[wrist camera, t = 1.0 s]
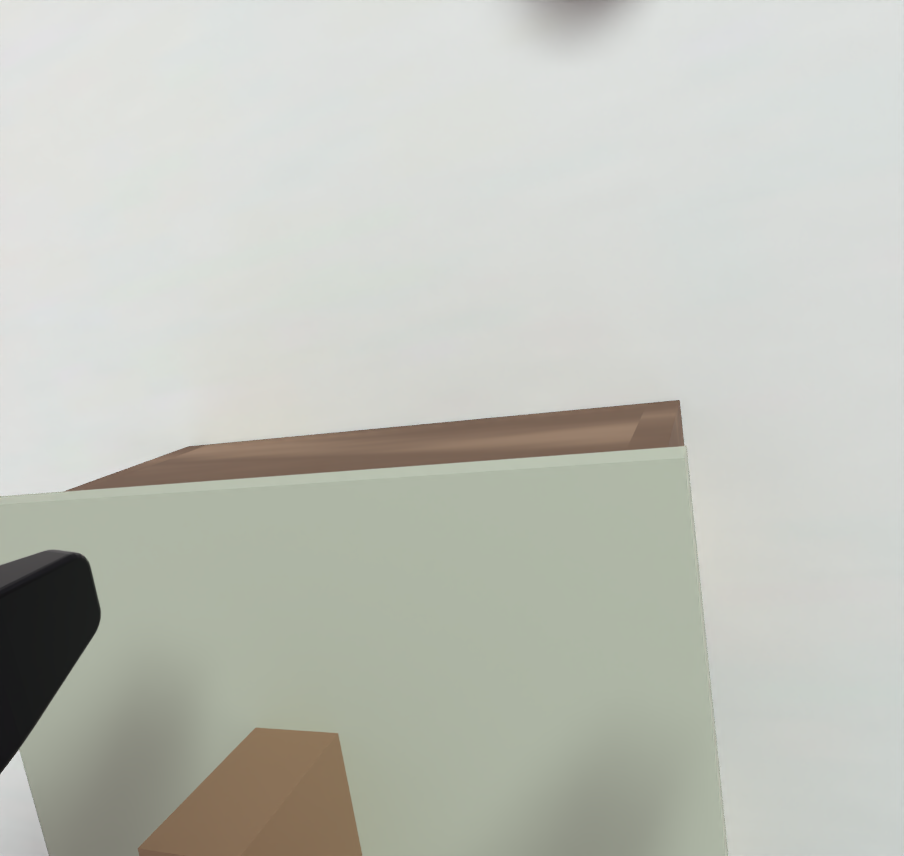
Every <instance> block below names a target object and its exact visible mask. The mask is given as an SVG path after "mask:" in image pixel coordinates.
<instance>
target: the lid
mask: <svg viewBox="0 0 904 856" xmlns="http://www.w3.org/2000/svg"><path fill="white" fill-rule="evenodd" d="M53 549H55V550H63V551H70V552H77V553H80V554H82V555H84V556H85V557H86V558H87V560H88V561H89V563H90V566H91V570H92V574H93V578H94V583H95V587H96V591H97V595H98V599H99V604H100V608H101V619H100V624H99V627H98V629H97V631H96V633H95V635H94V636H93V638H92V639H91V641H90V643H89V644H88V646H87V647H86V649H85V650H84V652H83V653H82V655H81V656H80V658H79V659H78V661H77V662H76V664H75V666H74V667H73V669H72V670H71V672H70V673H69V675H68V676H67V678H66V679H65V681H64V682H63V684H62V686H61V687H60V689H59V690H58V692H57V693H56V695H55V696H54V698H53V699H52V701H51V702H50V704H49V705H48V707H47V709H46V710H45V712H44V713H43V715H42V716H41V718H40V719H39V721H38V722H37V724H36V725H35V727H34V728H33V730H32V731H31V733H30V734H29V736H28V737H27V739H26V740H25V742H24V743H23V744H22V746H21V747H20V749H19V750H20V754H21V757H22V761H23V765H24V768H25V772H26V775H27V779H28V782H29V786H30V790H31V793H32V797H33V800H34V804H35V807H36V811H37V815H38V818H39V822H40V825H41V829H42V832H43V836H44V839H45V843H46V847H47V850H48V854H49V856H728V849H727V839H726V829H725V819H724V809H723V800H722V790H721V780H720V770H719V761H718V751H717V741H716V731H715V721H714V712H713V702H712V692H711V682H710V672H709V663H708V653H707V643H706V633H705V623H704V614H703V604H702V594H701V584H700V574H699V565H698V555H697V545H696V535H695V525H694V516H693V506H692V496H691V486H690V476H689V467H688V457H687V447H686V446H679V447H666V448H652V449H638V450H625V451H611V452H597V453H584V454H570V455H557V456H543V457H529V458H516V459H502V460H489V461H475V462H461V463H448V464H434V465H421V466H407V467H393V468H380V469H366V470H352V471H339V472H325V473H312V474H298V475H284V476H271V477H257V478H244V479H230V480H216V481H203V482H189V483H175V484H162V485H148V486H135V487H121V488H107V489H94V490H80V491H67V492H53V493H39V494H26V495H12V496H0V565H2V564H5V563H8V562H11V561H14V560H17V559H21V558H24V557H27V556H30V555H33V554H36V553H39V552H42V551H46V550H53Z"/></svg>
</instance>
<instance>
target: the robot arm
mask: <svg viewBox="0 0 904 856" xmlns="http://www.w3.org/2000/svg"><path fill="white" fill-rule="evenodd" d="M100 619H101V608H100V604H99V599H98V595H97V591H96V587H95V583H94V578H93V574H92V570H91V566H90V563H89V561H88V560H87V558H86V557H85V556H84V555H82V554H80V553H77V552H70V551H63V550H55V549H53V550H46V551H42V552H39V553H36V554H33V555H30V556H27V557H24V558H21V559H17V560H14V561H11V562H8V563H5V564H2V565H0V774H1V772H2V771H3V770H4V768H5V767H6V766H7V765H8V763H9V762H10V761H11V759H12V758H13V757H14V755H15V754H16V753H17V751H18V750H19V749H20V747H21V746H22V744H23V743H24V742H25V740H26V739H27V737H28V736H29V734H30V733H31V731H32V730H33V728H34V727H35V725H36V724H37V722H38V721H39V719H40V718H41V716H42V715H43V713H44V712H45V710H46V709H47V707H48V705H49V704H50V702H51V701H52V699H53V698H54V696H55V695H56V693H57V692H58V690H59V689H60V687H61V686H62V684H63V682H64V681H65V679H66V678H67V676H68V675H69V673H70V672H71V670H72V669H73V667H74V666H75V664H76V662H77V661H78V659H79V658H80V656H81V655H82V653H83V652H84V650H85V649H86V647H87V646H88V644H89V643H90V641H91V639H92V638H93V636H94V635H95V633H96V631H97V629H98V627H99V624H100Z"/></svg>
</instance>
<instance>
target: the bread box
mask: <svg viewBox="0 0 904 856" xmlns="http://www.w3.org/2000/svg"><path fill="white" fill-rule="evenodd" d="M679 446H684V439H683V430H682V420H681V410H680V400H676V401H666V402H655V403H645V404H634V405H623V406H613V407H602V408H592V409H581V410H571V411H560V412H549V413H539V414H528V415H518V416H507V417H496V418H486V419H475V420H465V421H454V422H443V423H433V424H422V425H412V426H401V427H390V428H380V429H369V430H359V431H348V432H338V433H327V434H316V435H306V436H295V437H285V438H274V439H263V440H253V441H242V442H232V443H221V444H210V445H200V446H189V447H186V448H183V449H180V450H177V451H175V452H172V453H169V454H166V455H164V456H161V457H158V458H155V459H152V460H150V461H147V462H144V463H141V464H139V465H136V466H133V467H130V468H128V469H125V470H122V471H119V472H116V473H114V474H111V475H108V476H105V477H103V478H100V479H97V480H94V481H92V482H89V483H86V484H83V485H80V486H78V487H75V488H72V489H69V490H67V491H80V490H94V489H107V488H121V487H135V486H148V485H162V484H175V483H189V482H203V481H216V480H230V479H244V478H257V477H271V476H284V475H298V474H312V473H325V472H339V471H352V470H366V469H380V468H393V467H407V466H421V465H434V464H448V463H461V462H475V461H489V460H502V459H516V458H529V457H543V456H557V455H570V454H584V453H597V452H611V451H625V450H638V449H652V448H666V447H679ZM67 491H64V492H67Z"/></svg>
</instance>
